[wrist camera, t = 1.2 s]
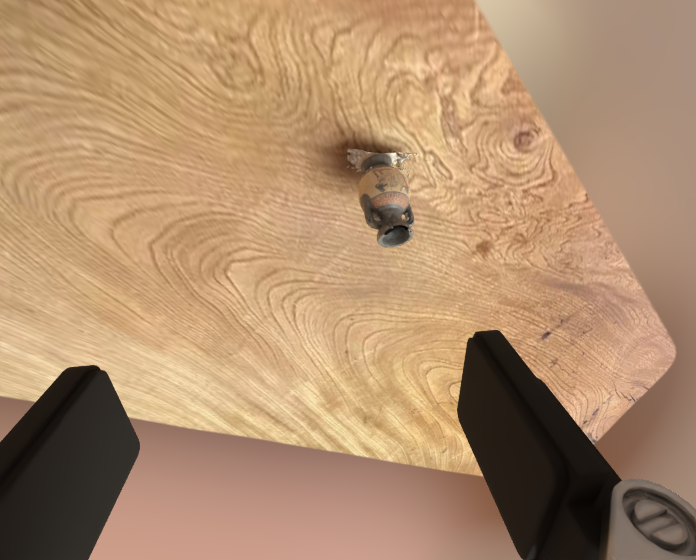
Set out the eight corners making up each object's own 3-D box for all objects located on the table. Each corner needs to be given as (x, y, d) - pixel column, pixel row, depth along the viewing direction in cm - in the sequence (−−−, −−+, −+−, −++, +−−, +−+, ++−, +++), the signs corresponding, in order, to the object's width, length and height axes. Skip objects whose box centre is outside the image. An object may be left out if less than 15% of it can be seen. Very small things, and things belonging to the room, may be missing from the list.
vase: (407, 225, 28) (429, 256, 23) (338, 221, 27) (345, 252, 22) (419, 152, 25) (447, 168, 20) (344, 147, 25) (352, 162, 19)
